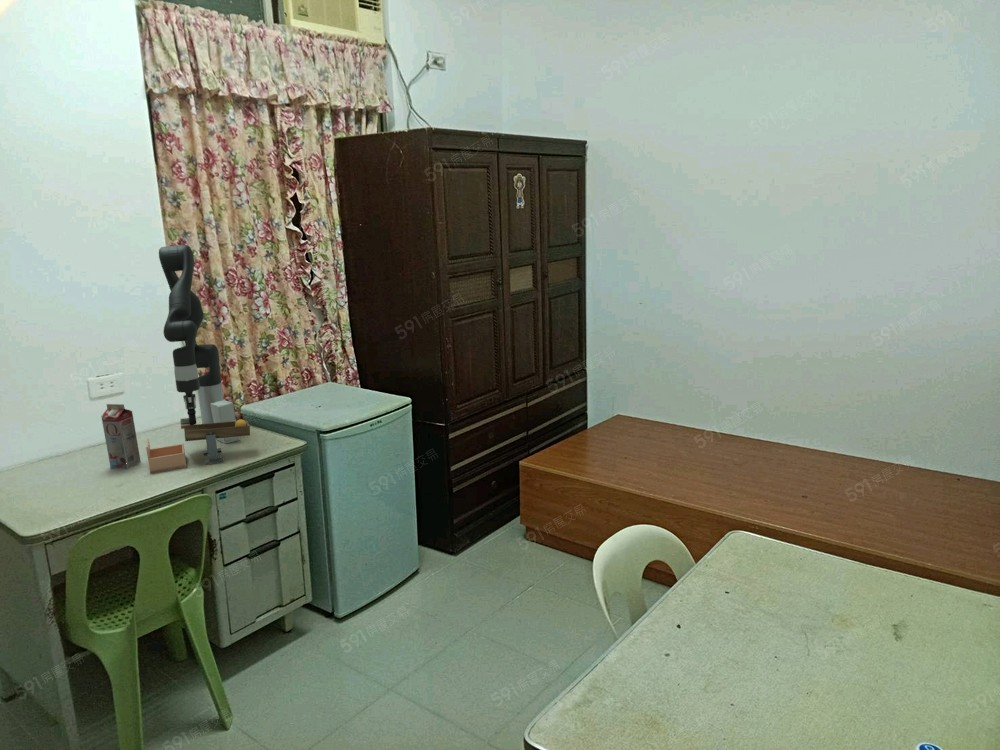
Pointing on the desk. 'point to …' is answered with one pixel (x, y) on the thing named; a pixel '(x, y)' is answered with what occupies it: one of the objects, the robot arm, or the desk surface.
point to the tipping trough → (213, 430)
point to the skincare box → (224, 416)
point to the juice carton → (120, 436)
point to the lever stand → (212, 450)
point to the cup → (166, 457)
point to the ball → (240, 423)
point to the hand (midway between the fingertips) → (192, 421)
